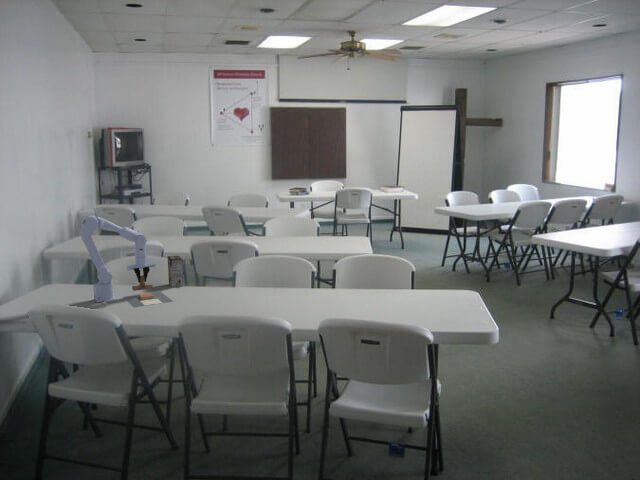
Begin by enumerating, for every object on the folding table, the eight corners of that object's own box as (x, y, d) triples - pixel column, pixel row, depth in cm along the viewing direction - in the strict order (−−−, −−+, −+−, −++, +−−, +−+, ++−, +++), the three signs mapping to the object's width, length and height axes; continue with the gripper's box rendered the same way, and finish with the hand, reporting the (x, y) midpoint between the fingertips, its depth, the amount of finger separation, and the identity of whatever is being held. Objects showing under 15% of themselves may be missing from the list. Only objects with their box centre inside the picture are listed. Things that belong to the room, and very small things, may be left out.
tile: (142, 299, 315) (141, 297, 314) (138, 297, 320) (138, 294, 319) (153, 298, 318) (153, 295, 317) (150, 295, 323) (150, 292, 322)
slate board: (134, 308, 302) (133, 307, 302) (122, 297, 320) (122, 296, 320) (173, 302, 312) (173, 301, 312) (160, 292, 331) (160, 291, 330)
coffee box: (168, 284, 349) (167, 256, 346) (179, 282, 351) (178, 255, 348) (171, 287, 340) (170, 259, 338) (183, 286, 343) (182, 258, 340)
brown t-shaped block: (133, 290, 320) (132, 277, 319) (132, 289, 322) (131, 276, 321) (152, 288, 325) (152, 275, 324) (151, 287, 327) (150, 274, 326)
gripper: (152, 253, 327) (153, 278, 330) (124, 256, 320) (126, 281, 322) (156, 256, 321) (157, 281, 324) (128, 259, 314) (129, 284, 316)
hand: (142, 281), depth 323 cm, fingers closed on brown t-shaped block, 2 cm apart
